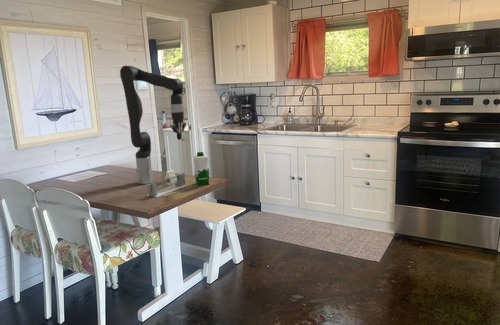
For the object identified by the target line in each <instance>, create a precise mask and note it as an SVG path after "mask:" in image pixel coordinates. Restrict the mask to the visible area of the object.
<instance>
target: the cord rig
mask: <svg viewBox="0 0 500 325" xmlns="http://www.w3.org/2000/svg"><path fill="white" fill-rule="evenodd" d="M175 175H176V176H177V183H176V184H173V185H170V186H168V187H164V188H162V189H160V190H158V187H159V186H161V185H166V184H165V183H168V182H170V179H167V180H165V179H164V180H162V181H160V182H157V183H154V184H152V183H148V184H147V188H148V189H147V190H148V194H146V197H151V198H160V197H162V196H165V195H168V194H171V193H172V192H173V193H174V192H176V191H178V190H180V189H183V188H185V187H187V184H186V176H185V173H182V172H175Z"/></svg>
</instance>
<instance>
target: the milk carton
mask: <svg viewBox="0 0 500 325" xmlns="http://www.w3.org/2000/svg"><path fill="white" fill-rule="evenodd" d="M193 162H194V163H193V164H194V177H195V182H196V185H197V186H209V185H210V169H209V168H210V166H209V156H208V155H207V154H205V153H204V152H203V151H199V152H197V153H196V155H194V156H193Z"/></svg>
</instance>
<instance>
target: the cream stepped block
mask: <svg viewBox="0 0 500 325" xmlns="http://www.w3.org/2000/svg"><path fill="white" fill-rule="evenodd" d="M165 174H166V175H165V176H164V180H167V179H170V182H168V183H165V184H164V185H168V186H169V185H170V186H173V185H175V184H176V183H177V176H176V175H175V174H176V172H175V170H173V169H171V170H168V171H166V172H165Z"/></svg>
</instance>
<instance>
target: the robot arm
mask: <svg viewBox="0 0 500 325" xmlns="http://www.w3.org/2000/svg"><path fill="white" fill-rule="evenodd" d="M119 75H120V76H119V77H120V79H121V82H122V86H123V90H124V97H125V102H126V108H127V110H126V111H127V114H128V119H129V128H130V129H129V130H130V141H131V144H132V146H133V147H134V148H136V149H138V148H139V149H138V151H136V153H135V161H136V163H135V164H136V169H135V174H136V182H137V184H139V185H146V184H147V185H149V184H152V183H153V170H152V161H151V160H152V158H151V152H152V142H151V141H152V140H151V136H150V134H149V133H148V132H146V131H141V128H140V126H141V125H140V124H141V120H142V116H143V114H144V112H143V111H144V110H143V104H142V100H141V98H140V95H139V93H138V92H137V90H136V87H135V82H145V83H148V84H150V85H152V86H157V87H160V88H163V89H167V90H170V91H172V94H171V95H170V112H171V113H170V114H171V120H172V124H170V125H169V126H170V128H171V130H172V131H173V133H175V134H176V139H177V140H181V139H182V134H183V132H184V131H185V128H186V126H187V123H186V122H184V118H185V113H184V105H183V103H184V102H183V92H184V85H183V84H184V83H183V81H182V79H180V78H173V77H167V76H165V75H162V74H160V73H159V74H158V73H155V72H154V73H153V72H149V71H146V70H143V69H140V68H138V67H135V66H133V65H123V66H122V67H121V68H120V71H119ZM134 81H135V82H134Z"/></svg>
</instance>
